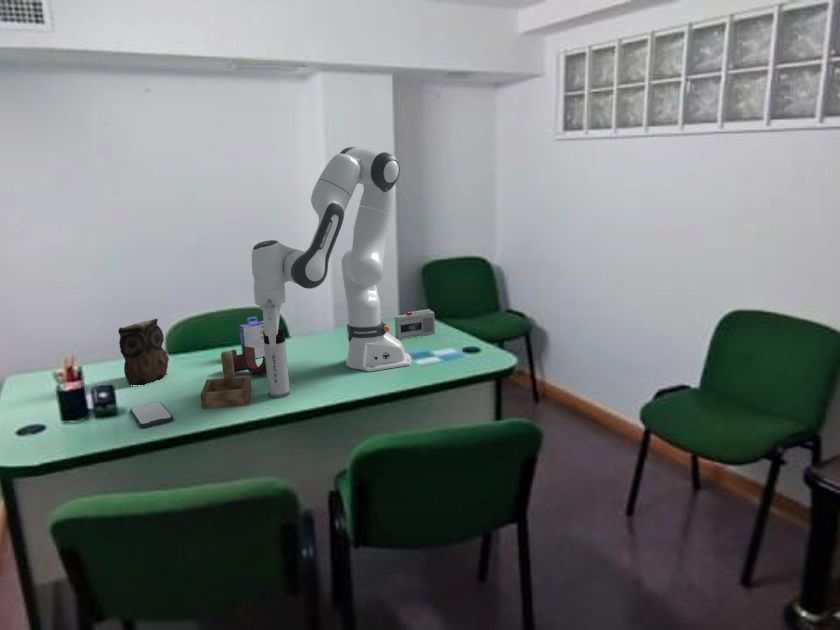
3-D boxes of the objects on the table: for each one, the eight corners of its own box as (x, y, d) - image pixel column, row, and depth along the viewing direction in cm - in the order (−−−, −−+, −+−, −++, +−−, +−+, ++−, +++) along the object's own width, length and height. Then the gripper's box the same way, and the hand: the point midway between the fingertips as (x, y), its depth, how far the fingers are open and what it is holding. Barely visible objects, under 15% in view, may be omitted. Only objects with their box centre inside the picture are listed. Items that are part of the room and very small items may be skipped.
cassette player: (398, 340, 244) (397, 315, 242) (395, 338, 247) (394, 313, 244) (434, 334, 251) (434, 309, 248) (431, 332, 253) (431, 308, 250)
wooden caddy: (252, 385, 200) (248, 349, 197) (248, 404, 185) (244, 365, 182) (209, 389, 198) (205, 353, 195) (202, 409, 182) (197, 369, 180)
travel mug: (279, 388, 197) (273, 326, 192) (294, 392, 193) (288, 329, 188) (263, 395, 192) (257, 331, 187) (278, 399, 188) (272, 334, 183)
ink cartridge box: (267, 351, 235) (263, 314, 231) (272, 355, 230) (269, 316, 227) (241, 357, 229) (237, 318, 226) (246, 360, 225) (242, 321, 221)
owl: (172, 373, 214) (164, 316, 209) (158, 386, 202) (150, 326, 197) (134, 375, 214) (125, 317, 209) (118, 388, 202) (108, 327, 197)
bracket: (269, 371, 205) (266, 340, 207) (223, 379, 209) (221, 349, 211) (279, 372, 211) (275, 342, 212) (234, 380, 215) (231, 351, 217)
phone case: (129, 413, 183) (140, 430, 170) (128, 408, 183) (139, 425, 170) (161, 406, 188) (174, 422, 175) (160, 400, 187) (174, 416, 174)
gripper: (280, 304, 175) (283, 351, 179) (281, 289, 195) (285, 332, 198) (256, 305, 174) (261, 353, 178) (260, 290, 194) (264, 334, 197)
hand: (273, 342), depth 188 cm, fingers open, 8 cm apart
